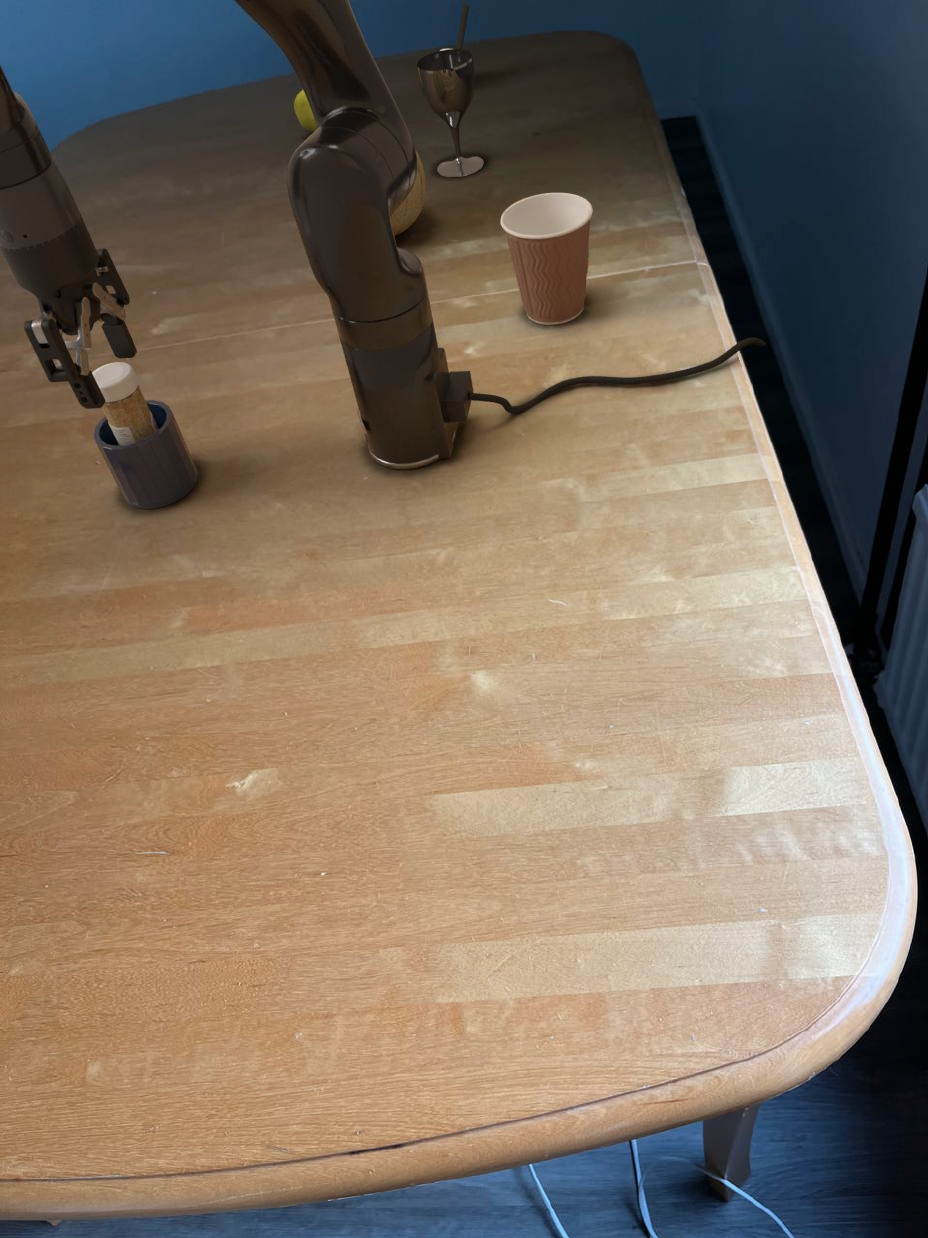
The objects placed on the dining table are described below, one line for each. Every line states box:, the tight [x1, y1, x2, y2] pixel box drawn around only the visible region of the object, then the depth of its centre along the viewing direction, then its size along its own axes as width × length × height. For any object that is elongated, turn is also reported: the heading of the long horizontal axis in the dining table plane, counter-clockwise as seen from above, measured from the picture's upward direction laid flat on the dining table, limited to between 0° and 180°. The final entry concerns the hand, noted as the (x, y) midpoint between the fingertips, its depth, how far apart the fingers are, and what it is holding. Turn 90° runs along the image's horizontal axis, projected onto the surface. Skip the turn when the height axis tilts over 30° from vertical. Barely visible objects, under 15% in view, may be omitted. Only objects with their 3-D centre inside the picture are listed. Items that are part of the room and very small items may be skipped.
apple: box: [293, 89, 318, 133], centre depth 167 cm, size 8×9×8 cm
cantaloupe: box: [390, 149, 427, 237], centre depth 137 cm, size 15×15×15 cm
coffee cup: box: [500, 192, 594, 326], centre depth 118 cm, size 10×10×12 cm
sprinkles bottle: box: [92, 361, 159, 446], centre depth 105 cm, size 5×5×13 cm
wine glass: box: [416, 48, 485, 178], centre depth 149 cm, size 8×8×15 cm
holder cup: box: [93, 399, 199, 510], centre depth 108 cm, size 8×8×8 cm
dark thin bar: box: [439, 1, 470, 51], centre depth 171 cm, size 10×6×12 cm, turn 98°
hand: (111, 380), depth 100 cm, fingers open, 8 cm apart
